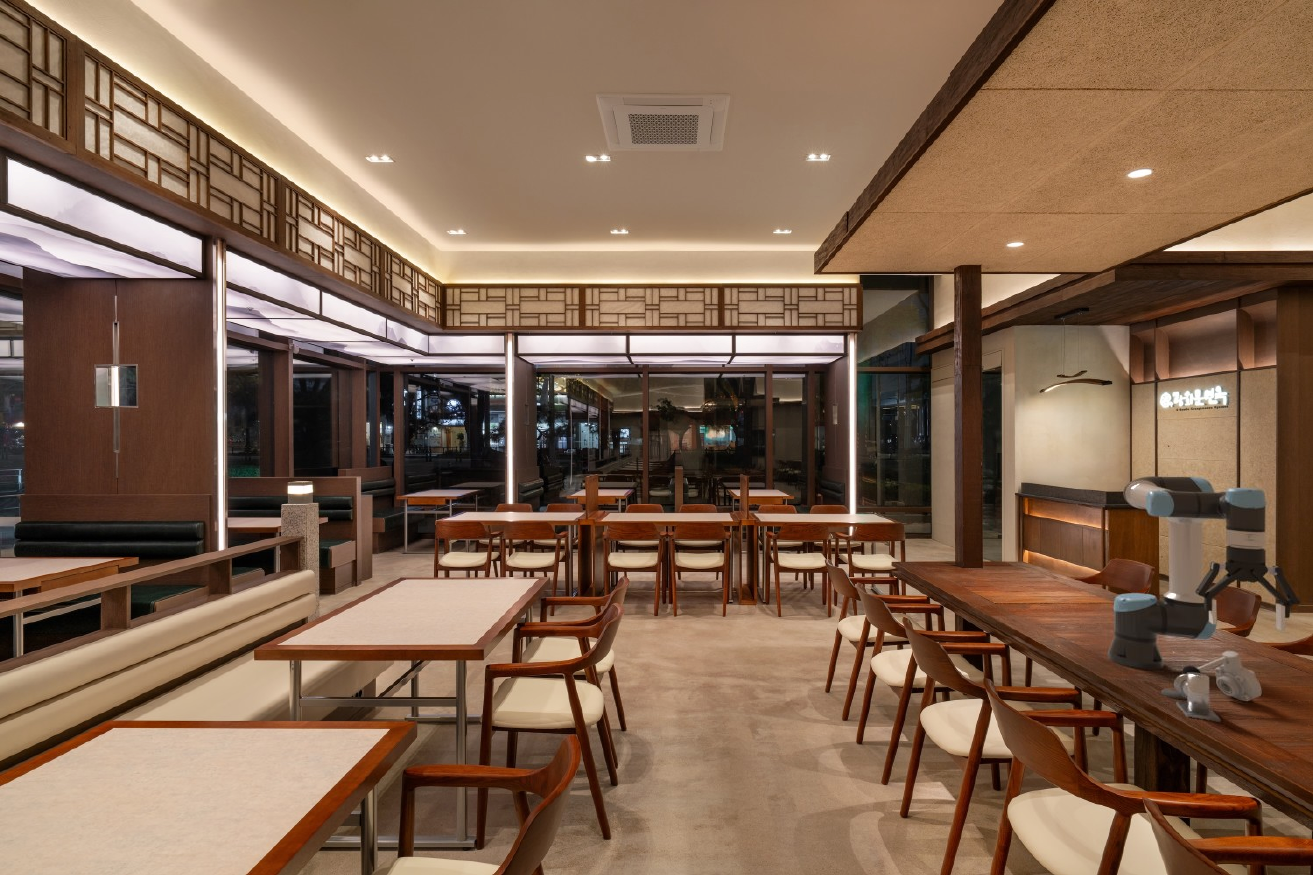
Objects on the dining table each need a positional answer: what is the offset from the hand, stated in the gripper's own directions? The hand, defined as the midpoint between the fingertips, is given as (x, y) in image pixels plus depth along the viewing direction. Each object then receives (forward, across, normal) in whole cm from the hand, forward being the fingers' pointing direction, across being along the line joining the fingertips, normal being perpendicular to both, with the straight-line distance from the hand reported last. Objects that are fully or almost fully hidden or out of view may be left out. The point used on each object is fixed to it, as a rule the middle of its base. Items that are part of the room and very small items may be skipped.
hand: (1245, 626), depth 161 cm
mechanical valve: (+29, +2, +21) cm, 36 cm away
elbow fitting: (+28, -8, +6) cm, 29 cm away
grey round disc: (+28, -10, +19) cm, 35 cm away
